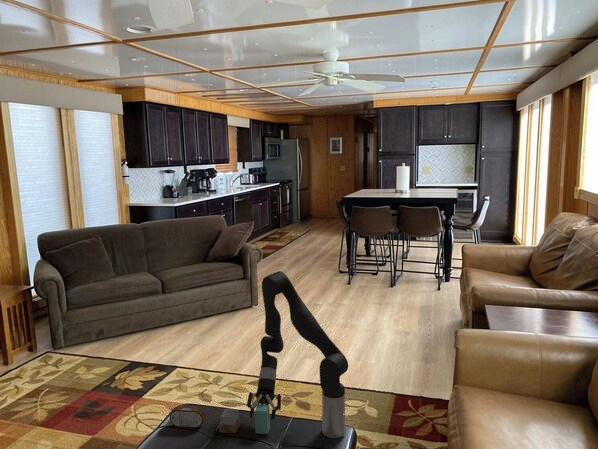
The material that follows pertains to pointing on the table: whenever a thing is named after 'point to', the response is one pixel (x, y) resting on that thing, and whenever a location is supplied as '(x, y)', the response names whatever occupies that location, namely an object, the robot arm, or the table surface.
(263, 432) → the block
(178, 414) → the tin
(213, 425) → the table surface
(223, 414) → the tower top
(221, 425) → the tower base
